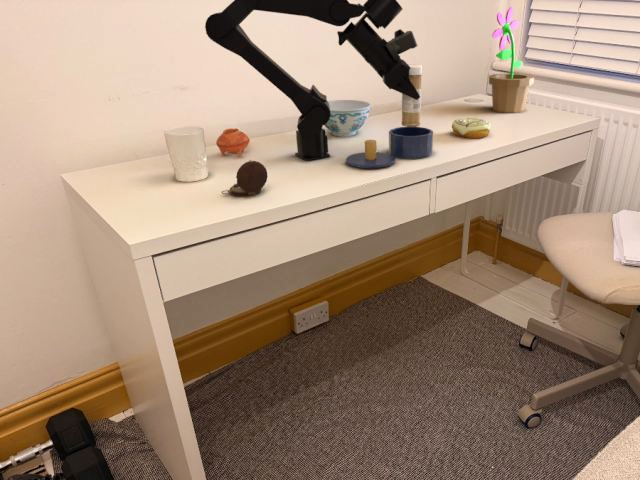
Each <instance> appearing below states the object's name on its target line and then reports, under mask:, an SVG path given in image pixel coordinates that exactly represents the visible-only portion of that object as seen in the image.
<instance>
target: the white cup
mask: <svg viewBox="0 0 640 480" xmlns="http://www.w3.org/2000/svg"><path fill="white" fill-rule="evenodd" d="M163 135H164V139H165V143H166V148H167V151H168V152H167V153H168V155H169V160H170V163H171V167H172V168H173V174H174V177H175V179H176V181H179V182H183V183H187V182H189V183H190V182H198V181H202V180H205V179H207V178H208V177H209V169H208V158H207V148H206V147H207V145H206V137H205V129H204V127H201V126H195V125H193V126H192V125H189V126H188V125H186V126H185V125H183V126H175V127H171V128H170V127H169V128H167V129H166V130H163Z"/></svg>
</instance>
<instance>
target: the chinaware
mask: <svg viewBox="0 0 640 480" xmlns="http://www.w3.org/2000/svg"><path fill="white" fill-rule="evenodd" d="M327 101H328V103H329V105H330V114H331V115H330V119H329V121H328V122H327V123H326V124H325V125H323V127H325V128H326V129H328V130H329V131H331V135H332V136H335V137H352V136H355V135H357V131H358V130H359V129H360V128H361V127H363V126H364V124H365V123H366V122H367V120H368V117H369V114H370V111H371V103H370V102H368V101H364V100H358V99H357V100H355V99H334V100H327Z"/></svg>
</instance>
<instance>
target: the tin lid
mask: <svg viewBox="0 0 640 480" xmlns="http://www.w3.org/2000/svg"><path fill="white" fill-rule="evenodd" d="M345 162H346V163H347V164H348V165H349V166H353V167H356V168H364V169H379V168H382V167H388V166H390V165H393V164H394V163H396V157H394V156H393V155H390V154H389V153H386V152H379V151H377V141H376V140H375V139H366V140H365V141H364V152H357V153H352V154H350V155H348V156H347V157H346V158H345Z"/></svg>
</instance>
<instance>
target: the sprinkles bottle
mask: <svg viewBox="0 0 640 480" xmlns="http://www.w3.org/2000/svg"><path fill="white" fill-rule="evenodd" d="M408 65H409V67H410V71H409V78H410V80H411V82H412V83H413V85H414V87H415V88H416V90H417V92H418V93H419V95H420V98H419V99H418V100H416V99H413V98H411V97H409V96H407V95H405V94H402V93H401V125H402V127H420V126H421V108H422V107H421V105H422V76H423V66H422V65H421V64H415V63H414V64H411V63H410V64H408Z"/></svg>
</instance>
